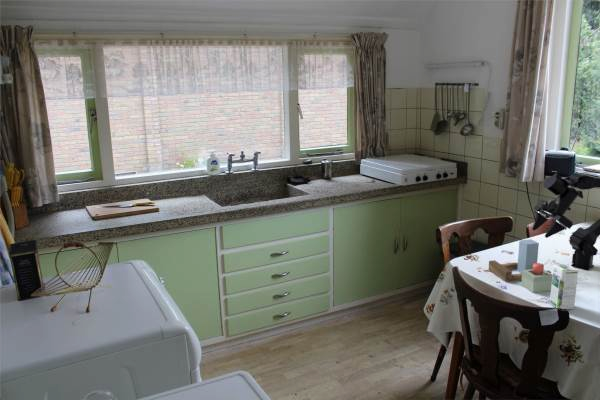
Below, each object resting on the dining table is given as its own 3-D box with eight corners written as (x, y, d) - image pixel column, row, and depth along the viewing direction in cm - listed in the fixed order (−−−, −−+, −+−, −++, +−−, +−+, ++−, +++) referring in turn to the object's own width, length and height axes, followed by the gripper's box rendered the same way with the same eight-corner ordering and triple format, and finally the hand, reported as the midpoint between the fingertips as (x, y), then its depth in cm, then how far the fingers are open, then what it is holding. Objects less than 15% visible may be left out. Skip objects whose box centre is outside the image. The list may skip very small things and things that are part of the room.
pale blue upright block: (528, 269, 208) (530, 239, 205) (536, 274, 203) (538, 243, 200) (517, 270, 207) (519, 240, 204) (524, 275, 202) (527, 244, 199)
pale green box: (540, 283, 195) (541, 268, 193) (552, 290, 188) (553, 275, 187) (521, 285, 194) (522, 270, 192) (532, 292, 187) (533, 277, 185)
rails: (531, 265, 212) (532, 261, 211) (550, 276, 200) (551, 271, 200) (494, 269, 209) (494, 265, 209) (511, 281, 198) (511, 276, 197)
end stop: (494, 269, 209) (494, 260, 208) (511, 281, 198) (511, 271, 197) (488, 270, 209) (489, 260, 208) (505, 281, 197) (505, 272, 196)
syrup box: (548, 303, 178) (552, 264, 175) (565, 302, 179) (569, 263, 175) (558, 311, 173) (562, 270, 169) (574, 309, 173) (579, 269, 170)
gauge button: (539, 270, 191) (539, 262, 191) (545, 273, 188) (546, 266, 187) (530, 271, 191) (531, 263, 190) (536, 274, 187) (537, 267, 187)
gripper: (536, 185, 209) (512, 216, 211) (563, 196, 191) (536, 230, 193) (556, 199, 211) (532, 230, 214) (584, 211, 193) (558, 245, 196)
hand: (539, 233), depth 204 cm, fingers open, 9 cm apart
